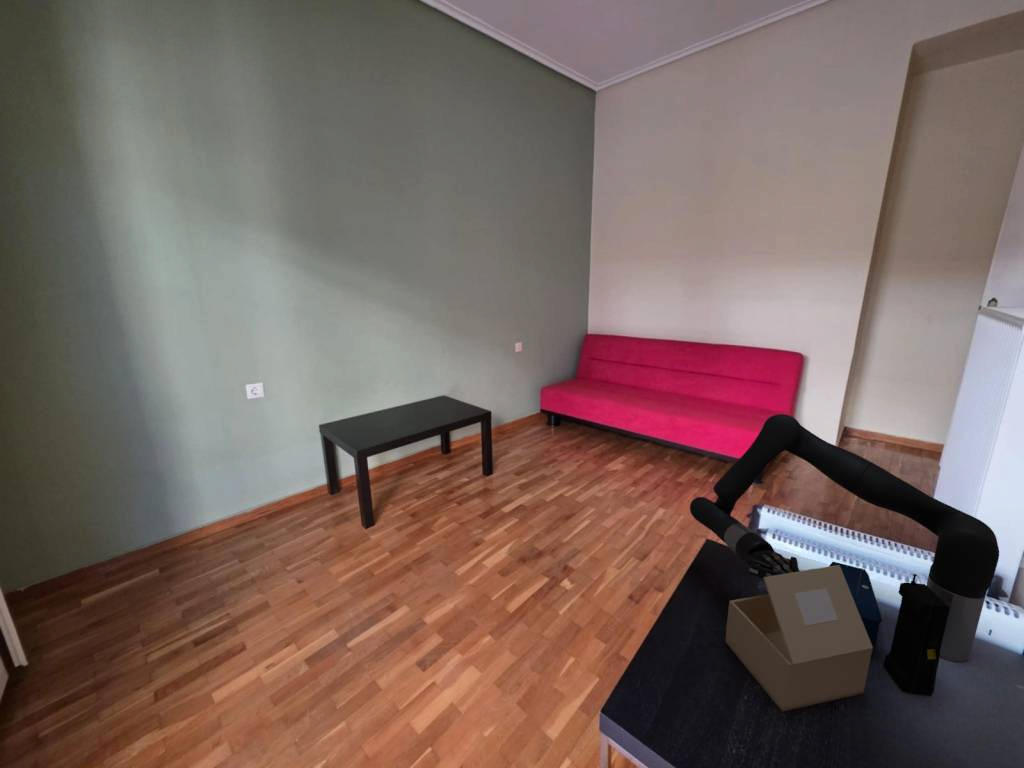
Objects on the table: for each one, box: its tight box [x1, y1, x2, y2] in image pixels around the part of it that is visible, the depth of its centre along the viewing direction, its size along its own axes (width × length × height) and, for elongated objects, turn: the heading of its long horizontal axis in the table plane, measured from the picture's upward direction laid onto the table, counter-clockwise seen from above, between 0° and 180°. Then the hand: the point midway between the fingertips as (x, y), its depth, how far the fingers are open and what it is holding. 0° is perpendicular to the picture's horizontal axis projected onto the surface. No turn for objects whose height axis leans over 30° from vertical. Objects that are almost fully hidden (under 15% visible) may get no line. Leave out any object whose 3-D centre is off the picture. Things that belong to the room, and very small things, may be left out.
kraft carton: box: [724, 593, 872, 713], centre depth 96 cm, size 18×20×12 cm
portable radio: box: [883, 573, 950, 697], centre depth 89 cm, size 8×6×25 cm
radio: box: [829, 561, 883, 656], centre depth 106 cm, size 21×9×20 cm, turn 148°
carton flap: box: [762, 565, 873, 664], centre depth 88 cm, size 16×19×1 cm
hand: (803, 590), depth 92 cm, fingers closed
